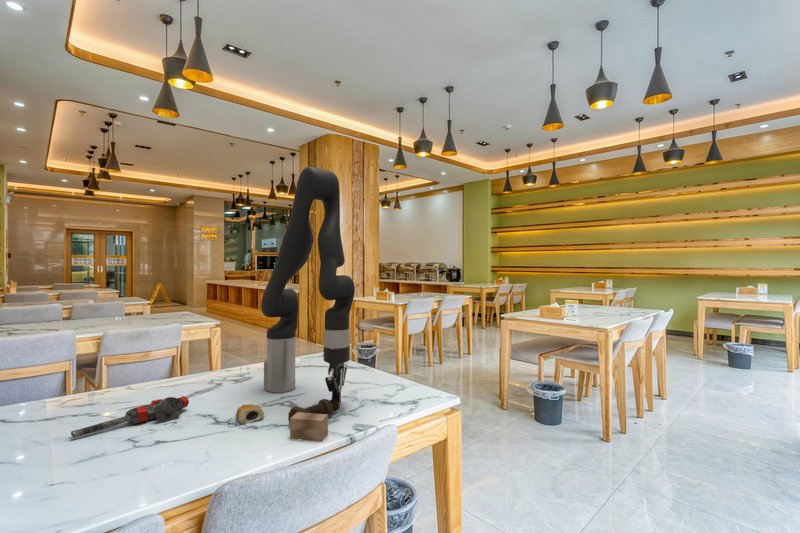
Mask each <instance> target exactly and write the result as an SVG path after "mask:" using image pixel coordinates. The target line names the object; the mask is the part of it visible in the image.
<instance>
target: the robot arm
mask: <svg viewBox="0 0 800 533" xmlns="http://www.w3.org/2000/svg"><path fill="white" fill-rule="evenodd" d="M339 182H340V181H339V178H338V176H337V174H336V173H335V172H333V171H331V170H327V169H324V168H319V167H314V166H307V167H304V169H302V171H301V172H300V173H299V176H298V180H297V182H296V187H295V193H294V198H293V201H292V202H293V203H292V207H291V211H290V215H289V219H288V222H287V225H286V230H285V232H284V235H283V238H282V240H281V244H280V248H279V251H278V255H277V257H276V261H275V264H274V267H273V270H272V273H271V276H270V277H269V280H268V282H267V284H266V287H265V290H264V292H263V295H262V298H261V303H260V309H261V312H262V314H263V316H265V317H266V318H271V319H272V318H279V320H278V322H277V323H276V324H274V325H272V326H270V327H268V329H267V330H266V360H264V362H263V391H266V392H269V393H275V394H277V393H287V392H291V391H293V390H295V389H296V333H297V329H298V324H299V323H298V321H299V319H298V318H299V296H298V294H297V292H296V290H294V289H292V288H286V286H287V284H288V283H289V282H290V280H291V279H292V278H293V277H294V276H295V275H296V274H297V273H298V272H299V271H300V270H301V269H302V268H303V267H304V266H305V265H306V263H307V262H308V260H309V257H310V255H311V251H312V249H313V246H314V241H315V240H314V239H315V238H314V234H313V229H312V226H311V221H310V212H311V209H312V208H311V207H312V204H313V202H314V201H315V200H317V201H321V202H322V204H323V211H324V212H323V213H324V214H323V220H322V223H321V226H320V229H319V231H318V235H317V248H318V256H319V260H320V261H319V262H320V265H319V266H320V267H319V275H318V290H319V291H318V292H319V293H320V296H321V297H322V298H323V299H324V300H325V301H326V300H327V301H334V304H333V306H332V307H330V308H328V309H325V312H324V332H323V361H324V362H325V363H328V364H329V365H328V369H327V375H328V376H326V377H325V378H324V381H325V384H326V386H327V390H328V392H329V393H331V400H332V399H335V400H337V401H338V402H339V403H340V404H341V403H342V401H341V400H342V396H341V395H342V390H343V387H344V386H345V380H346V375H347V370H348V367H347V366H345V363H347V362H349V361H350V357H351V356H350V355H351V353H350V352H351V340H350V339H351V335H350V314H351V310H352V305H353V302H354V299H355V298H354V297H355V292H356V287H355V282H354V280H353V279H352V278H351V277H350V276H349V275H344V274H343V275H342V274H341V275H338V274H337V270H338V268H340V267H342V266H344V264H345V263H346V260H345V253H344V246H343V243H342V241H343V240H342V237H341V234H342V233H341V215H340V214H341V207H340V206H341V203H340V202H341V201H340V200H341V198H340V193H341V191H340V183H339Z"/></svg>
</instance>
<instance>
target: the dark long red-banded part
mask: <svg viewBox="0 0 800 533" xmlns="http://www.w3.org/2000/svg"><path fill="white" fill-rule="evenodd" d="M189 404H190V400H189V398H188V397H187V396H185V395H182V396H180V397H174V396H168V397H165V398H163V399H161V398H159V399H154V400H151V402H150V404H146V405H145V404H144V405H140V406H136V407H134V408H131V409H129V410H127V411H126V412H125V416H121V417H118V418H115V419H111V420H108V421H107V420H106V421H103V422H100V423H96V424H94V425H93V424H92V425H88V426H86V427H82V428H79V429H75V430H72V431H70V435H71V437H72V439H74V438H78V437H80V436H84V435H87V434H91V433H94V432H95V433H96V432H98V431H101V430H105V429H108V428H111V427H115V426H118V425H121V424H125V423H128V422H129V423H130V424H131V425H135V424H136V425H139V424H143V423H147V421H148V420H150V419H154V418H156V419H157V420H158V421H159V422H161V423H167V422H168V423H169V422H171V421H176V420H177V419H178V418H179V417H180V415H182V411H183V410H184V409H186V408H187V407H189V406H188V405H189Z"/></svg>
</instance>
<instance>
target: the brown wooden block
mask: <svg viewBox="0 0 800 533" xmlns="http://www.w3.org/2000/svg"><path fill="white" fill-rule="evenodd" d="M328 435H329V417H328V414H315V413H301V412H297V413H296V414H295V415H293V416H292V417H291V418H290V424H289V440H298V439H301V440H302V441H310V442H311V441H313V442H320V443H321V442H323V441H324V440H325V439H326V438H327V436H328ZM301 440H300V441H301Z"/></svg>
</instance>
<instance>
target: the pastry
mask: <svg viewBox="0 0 800 533" xmlns="http://www.w3.org/2000/svg"><path fill="white" fill-rule="evenodd" d="M264 415H265V414H264V410H263V409H262V408H261V407H260V406H259V405H257V404H252V403H249V404H242V405H241V406H238V408H237V409H236V413H235V416H236V419H237V421H238V422H239V424H240V425H243V424H244V425H245V424H251V423H253V422H259V421H261V420H262V419H263V417H264Z"/></svg>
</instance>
